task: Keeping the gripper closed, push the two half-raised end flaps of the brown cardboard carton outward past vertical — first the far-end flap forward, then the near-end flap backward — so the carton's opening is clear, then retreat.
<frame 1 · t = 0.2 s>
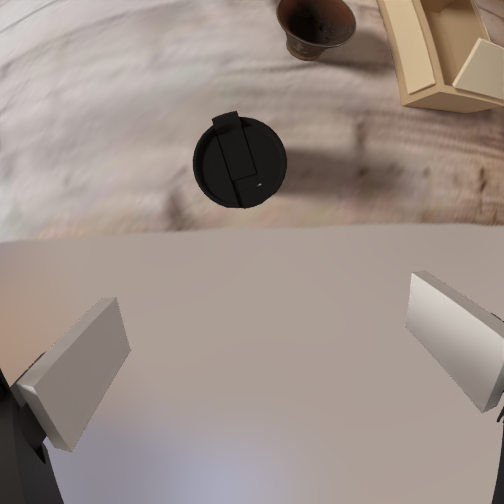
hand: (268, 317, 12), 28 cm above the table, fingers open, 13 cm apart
cup: (303, 46, 34), on the table
carton: (424, 51, 33), on the table
travel mug: (243, 168, 38), on the table
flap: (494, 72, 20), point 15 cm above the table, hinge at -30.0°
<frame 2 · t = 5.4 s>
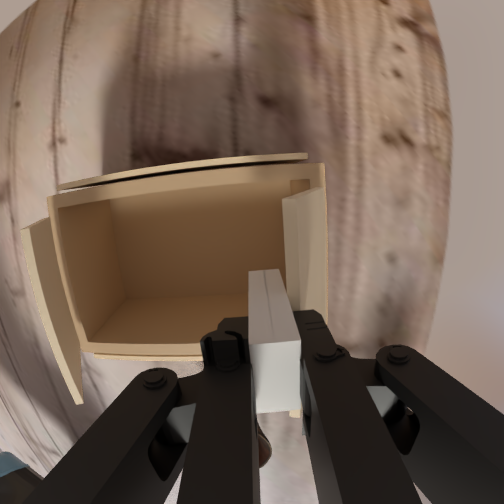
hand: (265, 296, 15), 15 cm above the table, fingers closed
cup: (232, 397, 35), on the table
carton: (200, 241, 30), on the table
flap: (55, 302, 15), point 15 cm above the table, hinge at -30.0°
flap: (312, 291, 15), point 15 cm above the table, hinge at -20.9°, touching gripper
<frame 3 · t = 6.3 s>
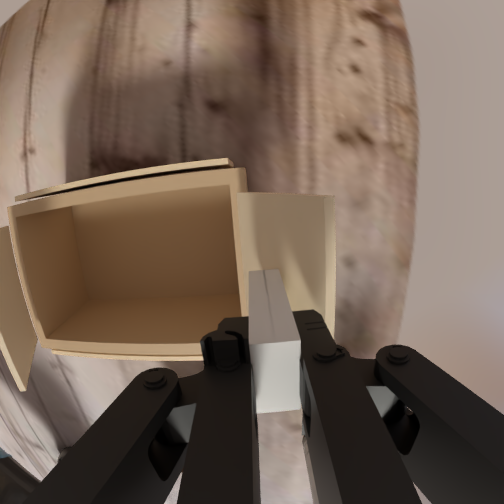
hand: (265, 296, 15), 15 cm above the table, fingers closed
carton: (153, 245, 30), on the table
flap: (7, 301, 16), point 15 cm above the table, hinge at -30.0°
travel mug: (322, 437, 37), on the table
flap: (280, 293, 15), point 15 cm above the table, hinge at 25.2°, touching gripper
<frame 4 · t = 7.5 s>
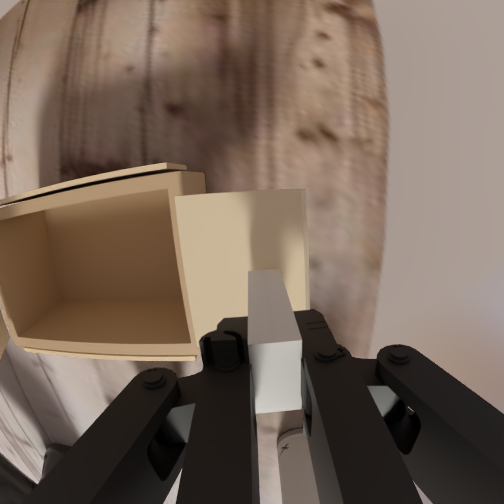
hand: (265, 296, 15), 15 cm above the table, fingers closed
carton: (118, 248, 29), on the table
travel mug: (297, 440, 37), on the table
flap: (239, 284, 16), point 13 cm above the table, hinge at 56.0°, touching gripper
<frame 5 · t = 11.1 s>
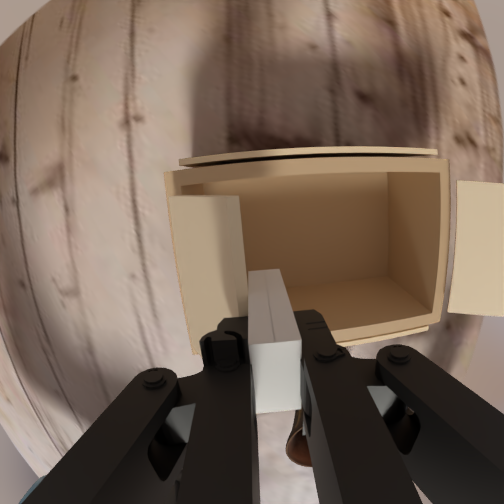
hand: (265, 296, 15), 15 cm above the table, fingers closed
cup: (313, 389, 34), on the table
carton: (302, 230, 29), on the table
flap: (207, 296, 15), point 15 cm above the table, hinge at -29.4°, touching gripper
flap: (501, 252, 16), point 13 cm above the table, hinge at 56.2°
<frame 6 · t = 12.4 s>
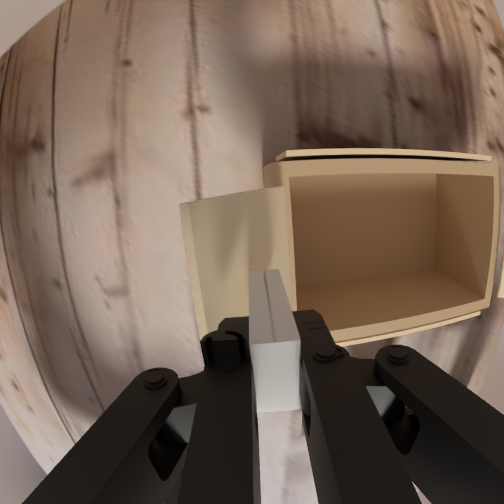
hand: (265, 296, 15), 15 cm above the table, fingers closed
carton: (364, 226, 29), on the table
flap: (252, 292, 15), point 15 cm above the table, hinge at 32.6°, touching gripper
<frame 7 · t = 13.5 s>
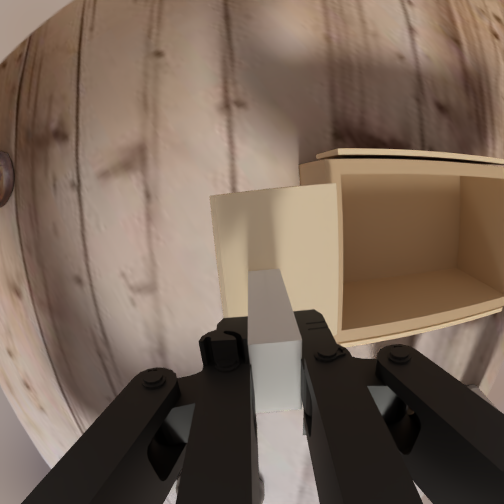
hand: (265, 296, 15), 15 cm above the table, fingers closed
carton: (394, 225, 29), on the table
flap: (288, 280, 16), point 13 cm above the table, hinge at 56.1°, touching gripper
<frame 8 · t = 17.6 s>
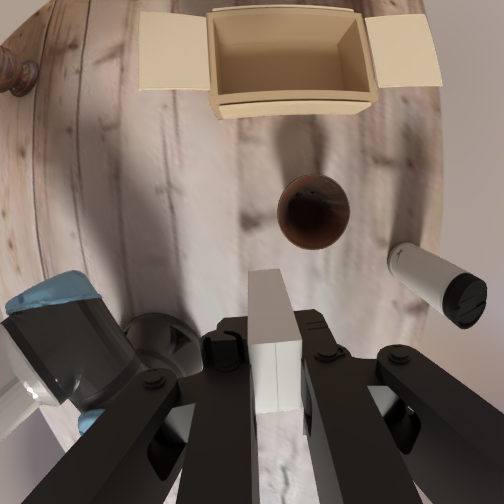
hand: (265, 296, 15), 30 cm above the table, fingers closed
cup: (301, 204, 44), on the table
carton: (283, 74, 39), on the table
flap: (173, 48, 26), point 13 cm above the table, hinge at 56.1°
mortar and pestle: (24, 87, 37), on the table
travel mug: (401, 259, 46), on the table
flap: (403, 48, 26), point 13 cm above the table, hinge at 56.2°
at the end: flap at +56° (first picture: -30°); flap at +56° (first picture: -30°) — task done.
